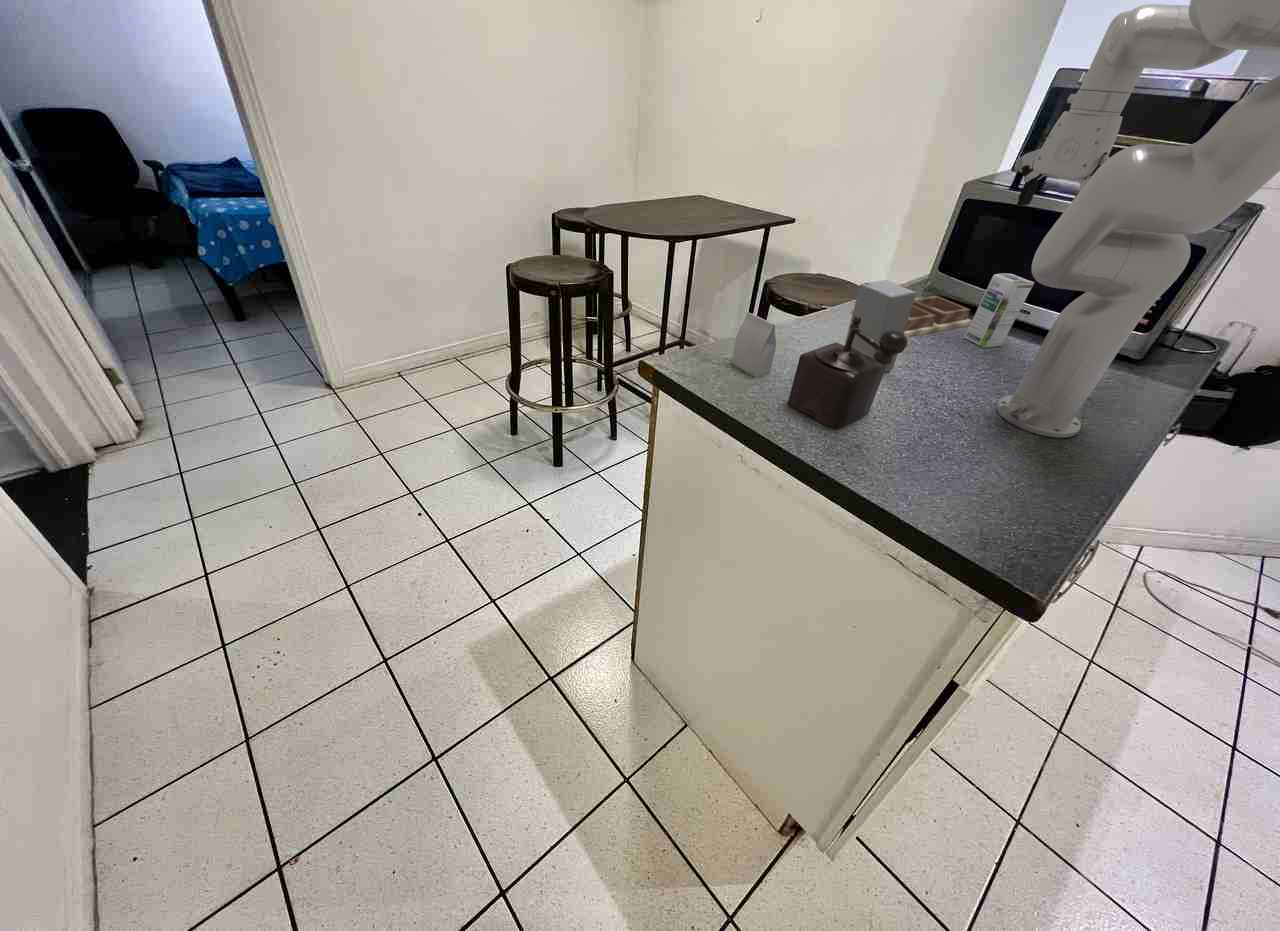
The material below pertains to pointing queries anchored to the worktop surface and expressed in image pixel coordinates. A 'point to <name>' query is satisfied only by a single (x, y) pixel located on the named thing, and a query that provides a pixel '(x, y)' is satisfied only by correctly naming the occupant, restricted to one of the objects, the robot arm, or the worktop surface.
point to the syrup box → (998, 309)
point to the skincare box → (881, 313)
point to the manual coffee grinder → (842, 378)
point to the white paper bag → (755, 346)
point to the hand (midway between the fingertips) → (1046, 210)
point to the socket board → (935, 316)
